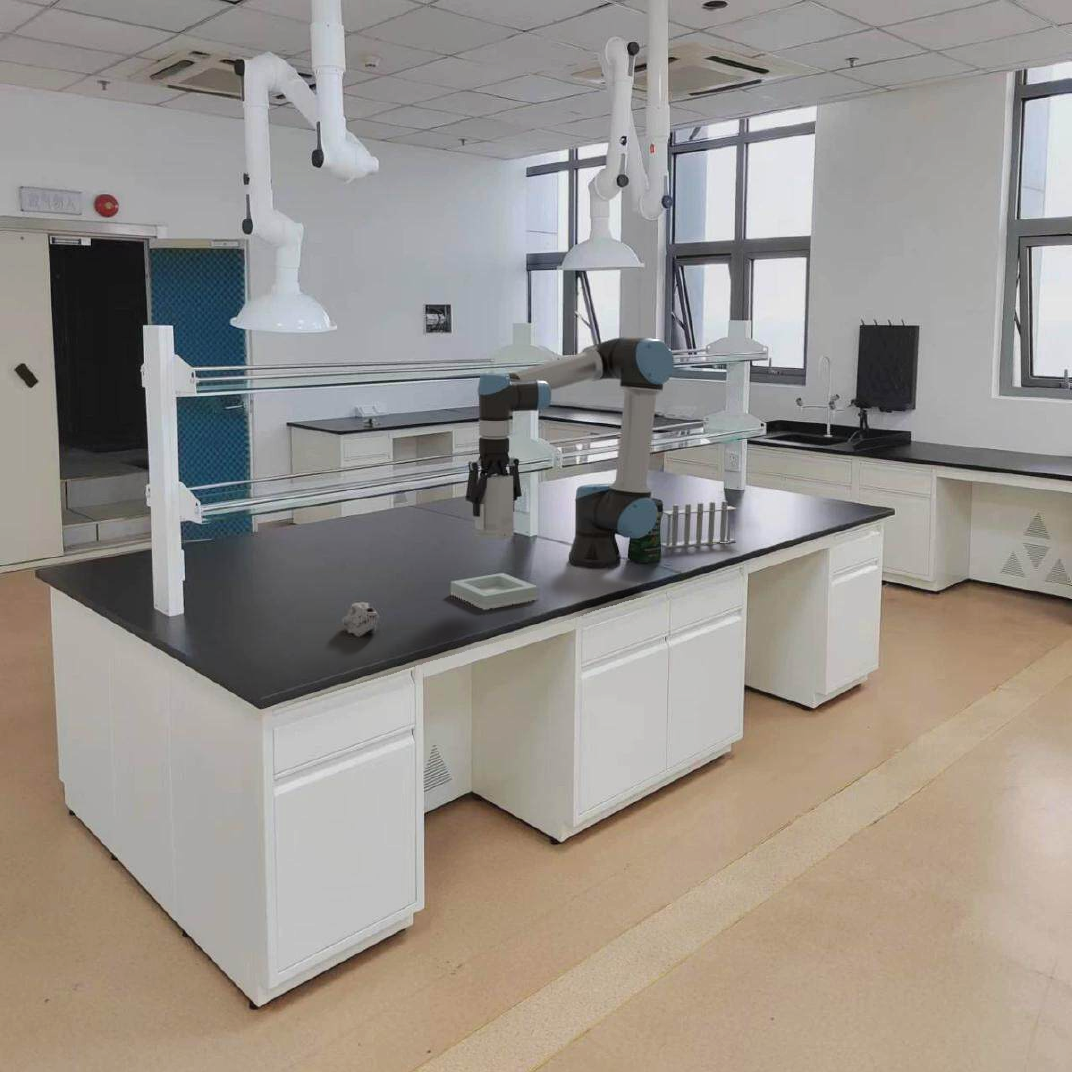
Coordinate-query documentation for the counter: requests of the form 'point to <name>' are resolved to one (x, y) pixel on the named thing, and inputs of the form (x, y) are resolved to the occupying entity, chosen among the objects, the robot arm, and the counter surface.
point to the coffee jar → (648, 541)
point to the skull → (360, 619)
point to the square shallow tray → (494, 590)
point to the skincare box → (497, 508)
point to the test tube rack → (698, 525)
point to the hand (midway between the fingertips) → (493, 527)
